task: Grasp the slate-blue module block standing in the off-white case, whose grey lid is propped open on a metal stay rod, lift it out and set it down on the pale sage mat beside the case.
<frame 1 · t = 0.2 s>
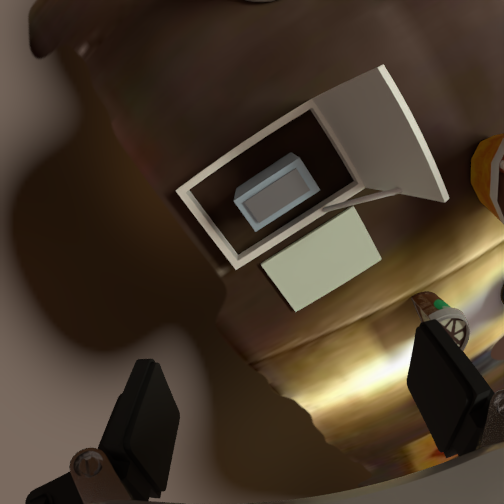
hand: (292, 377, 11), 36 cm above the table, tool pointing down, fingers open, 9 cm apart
case: (272, 183, 44), on the table
module: (272, 183, 44), resting in case
mat: (323, 260, 48), on the table
bucket of meat: (490, 172, 43), on the table
food container: (431, 304, 52), on the table
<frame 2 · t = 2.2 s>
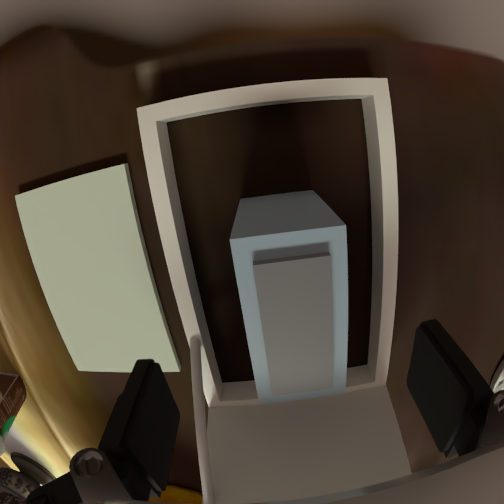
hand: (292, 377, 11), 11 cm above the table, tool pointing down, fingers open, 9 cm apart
case: (284, 262, 21), on the table
module: (284, 261, 21), resting in case
mat: (94, 284, 22), on the table
bucket of meat: (173, 497, 34), on the table
apothecary jar: (35, 468, 36), on the table
food container: (8, 389, 28), on the table
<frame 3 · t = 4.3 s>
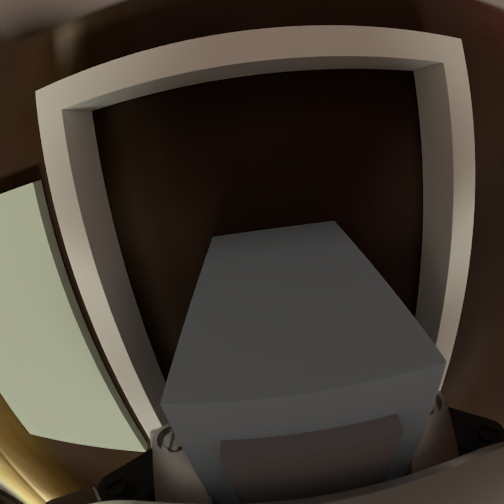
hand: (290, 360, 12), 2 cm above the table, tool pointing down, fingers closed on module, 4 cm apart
case: (286, 330, 13), on the table
module: (285, 330, 13), resting in case, touching gripper
mat: (25, 344, 14), on the table
apothecary jar: (14, 501, 28), on the table
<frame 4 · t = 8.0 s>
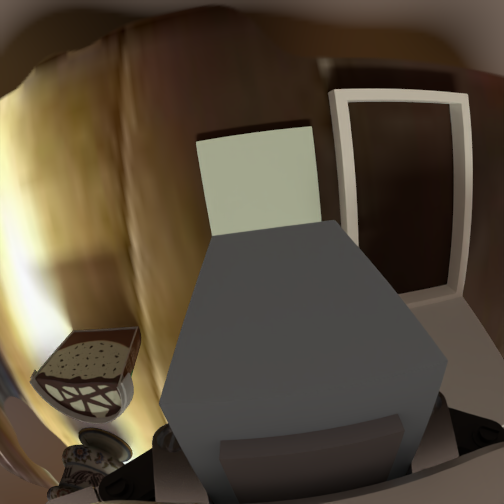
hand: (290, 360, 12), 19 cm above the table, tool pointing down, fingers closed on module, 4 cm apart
case: (406, 203, 29), on the table
module: (285, 330, 13), point 17 cm above the table, touching gripper
mat: (265, 220, 30), on the table
apothecary jar: (105, 444, 43), on the table
food container: (113, 348, 35), on the table
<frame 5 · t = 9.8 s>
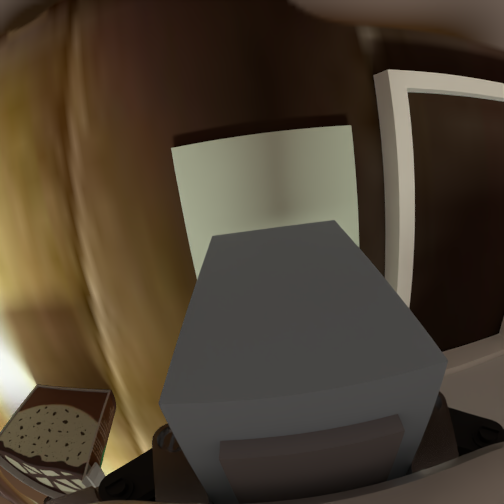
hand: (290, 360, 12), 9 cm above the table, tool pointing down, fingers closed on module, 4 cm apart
case: (468, 238, 19), on the table
module: (285, 330, 13), point 7 cm above the table, touching gripper
mat: (278, 265, 20), on the table
food container: (84, 408, 26), on the table
when the fingers open (4 cm above the table, at t = 11.5 s): module drops 2 cm, resting on mat.
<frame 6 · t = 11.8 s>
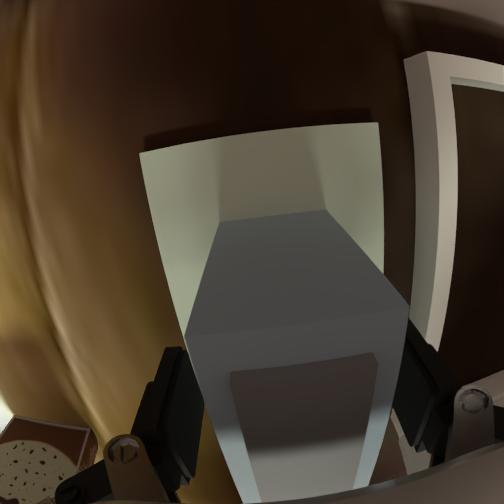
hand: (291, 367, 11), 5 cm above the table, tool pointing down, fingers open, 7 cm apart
module: (282, 308, 15), point 1 cm above the table, touching mat
mat: (280, 302, 16), on the table
food container: (65, 442, 21), on the table
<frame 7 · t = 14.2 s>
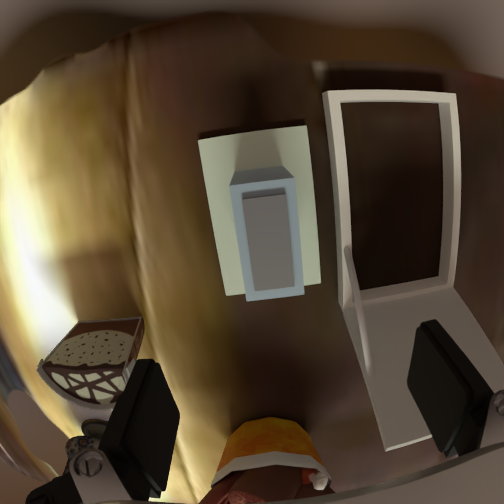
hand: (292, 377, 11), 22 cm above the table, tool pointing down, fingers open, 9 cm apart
case: (397, 198, 31), on the table
module: (264, 215, 31), point 1 cm above the table, touching mat
mat: (263, 213, 31), on the table
bucket of meat: (264, 435, 44), on the table
apothecary jar: (108, 435, 45), on the table
food container: (117, 339, 37), on the table
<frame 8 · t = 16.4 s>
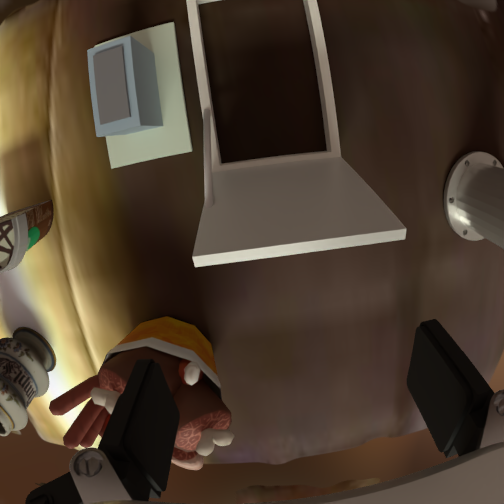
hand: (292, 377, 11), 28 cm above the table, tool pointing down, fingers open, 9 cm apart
case: (262, 71, 32), on the table
module: (139, 93, 32), point 1 cm above the table, touching mat
mat: (140, 93, 32), on the table
bucket of meat: (169, 346, 45), on the table
apothecary jar: (34, 349, 46), on the table
food container: (34, 227, 38), on the table
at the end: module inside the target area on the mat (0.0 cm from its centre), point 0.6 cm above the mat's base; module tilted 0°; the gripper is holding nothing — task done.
